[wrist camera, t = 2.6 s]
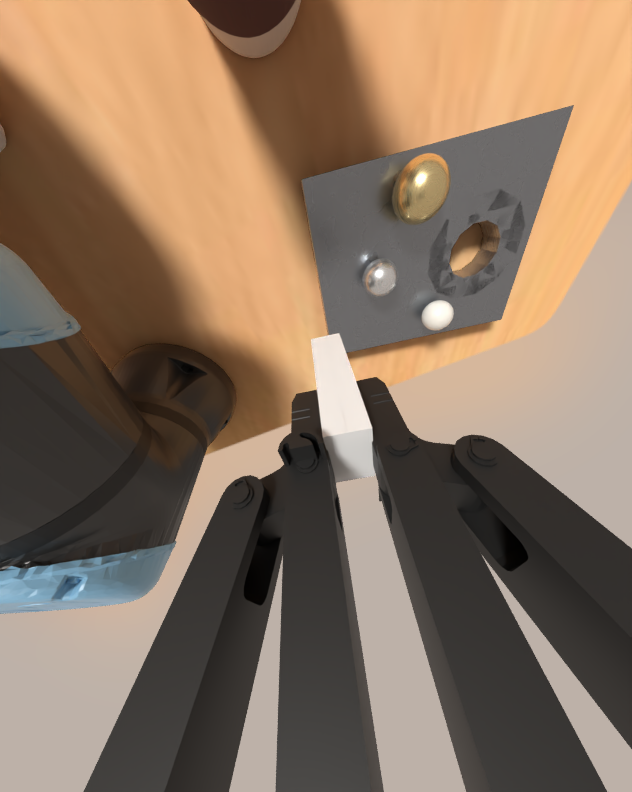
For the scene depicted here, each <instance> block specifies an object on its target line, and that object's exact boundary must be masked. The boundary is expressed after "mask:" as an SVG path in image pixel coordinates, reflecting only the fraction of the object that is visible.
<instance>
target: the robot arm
mask: <svg viewBox="0 0 632 792" xmlns="http://www.w3.org/2000/svg"><path fill="white" fill-rule="evenodd" d="M80 329H81V326H80V325H79V324H78V322H77V320H76V319H74V317H73V316H72V315H70V314H69V313H67V312H65V311H64V309H63V308H62V307H61V306H60V305H59V303H58V302H57V301H56V300H55V298H54V297H53V296H52V295H51V293H50V292H49V291H48V290H47V288H46V287H45V286H44V285H43V283H42V282H41V281H40V280H39V279H38V277H37V276H36V275H35V274H34V272H33V271H32V270H31V269H30V267H29V266H28V265H27V264H26V263H25V262H24V261H23V260H22V259H21V258H20V257H19V256H18V255H17V254H16V253H14V252H13V251H12V250H10V249H9V248H7V247H6V246H4V245H3V244H1V243H0V614H4V613H22V612H38V611H52V610H65V609H76V608H88V607H97V606H106V605H114V604H121V603H126V602H131V601H134V600H137V599H139V598H141V597H143V596H144V595H146V594H147V593H148V592H149V591H150V590H151V589H152V588H153V587H154V586H155V585H156V583H157V582H158V580H159V578H160V576H161V574H162V572H163V570H164V567H165V565H166V563H167V561H168V559H169V556H170V554H171V552H172V550H173V548H174V547H175V544H176V541H175V539H176V536H177V533H178V530H179V527H180V525H181V521H182V519H183V516H184V513H185V510H186V507H187V505H188V502H189V499H190V496H191V493H192V490H193V487H194V484H195V482H196V478H197V476H198V473H199V470H200V467H201V464H202V462H203V458H204V456H205V453H206V450H207V447H208V446H209V445H210V444H211V443H212V441H213V440H214V439H215V438H216V437H217V435H218V434H219V432H220V431H221V430H222V429H223V428H224V427H225V426H226V425H227V424H228V422H229V421H230V419H231V417H232V414H233V411H234V408H235V404H236V392H235V389H234V386H233V384H232V382H231V380H230V378H229V377H228V376H227V374H226V373H225V372H224V371H223V370H222V369H221V368H220V367H219V366H218V365H217V364H216V363H214V362H213V361H212V360H210V359H209V358H207V357H205V356H204V355H202V354H200V353H198V352H195V351H193V350H190V349H187V348H184V347H180V346H176V345H170V344H150V345H145V346H141V347H139V348H136V349H134V350H132V351H131V352H129V353H128V354H127V355H126V356H125V357H123V358H122V359H121V360H120V361H119V362H118V363H117V364H116V365H115V366H114V368H113V369H112V371H111V372H110V371H109V369H108V368H107V367H106V365H105V364H104V362H103V361H102V360H101V358H100V357H99V356H98V354H97V353H96V352H95V350H94V349H93V347H92V346H91V345H90V343H89V342H88V341H87V339H86V338H85V336H84V335H83V334H82V332H81V331H80ZM311 344H312V352H313V360H314V369H315V377H316V385H317V390H314V391H309V392H304V393H299V394H296V396H295V398H294V400H293V402H292V428H291V429H292V430H291V433H290V434H289V435H287V436H286V437H285V438H284V439H283V441H282V442H281V443H280V446H279V449H278V452H279V454H280V456H281V458H282V460H283V462H284V465H283V466H282V467H281V468H280V469H279V470H277V471H275V472H274V473H272V474H270V475H268V476H266V477H264V478H262V479H260V480H259V479H258V478H257V477H254V476H251V475H250V476H243V477H241V478H239V479H237V480H235V481H234V482H232V483H231V484H230V485H229V486H228V487H227V488H226V490H225V492H224V493H223V495H222V497H221V499H220V501H219V503H218V505H217V507H216V510H215V512H214V514H213V516H212V518H211V520H210V522H209V525H208V527H207V529H206V531H205V533H204V535H203V537H202V539H201V542H200V544H199V546H198V548H197V551H196V552H195V554H194V557H193V559H192V561H191V563H190V565H189V567H188V569H187V572H186V574H185V576H184V578H183V580H182V582H181V585H180V587H179V589H178V591H177V593H176V595H175V597H174V599H173V602H172V604H171V606H170V608H169V610H168V613H167V615H166V617H165V619H164V621H163V623H162V625H161V627H160V629H159V631H158V634H157V636H156V638H155V640H154V642H153V644H152V646H151V649H150V651H149V653H148V655H147V657H146V659H145V661H144V664H143V666H142V668H141V670H140V672H139V674H138V677H137V679H136V681H135V683H134V685H133V687H132V689H131V692H130V694H129V696H128V698H127V700H126V702H125V705H124V706H123V709H122V711H121V713H120V715H119V717H118V719H117V721H116V724H115V726H114V728H113V730H112V732H111V734H110V736H109V738H108V741H107V743H106V745H105V747H104V749H103V751H102V753H101V756H100V758H99V760H98V762H97V764H96V766H95V769H94V771H93V773H92V775H91V777H90V779H89V781H88V783H87V786H86V788H85V790H84V792H229V788H230V784H231V780H232V775H233V771H234V767H235V762H236V758H237V753H238V749H239V745H240V740H241V736H242V731H243V727H244V723H245V718H246V714H247V709H248V705H249V700H250V696H251V692H252V687H253V683H254V678H255V674H256V670H257V665H258V661H259V656H260V652H261V648H262V643H263V639H264V634H265V630H266V626H267V621H268V617H269V613H270V608H271V604H272V599H273V595H274V591H275V586H276V582H277V578H278V573H279V569H280V564H281V560H282V556H283V577H282V607H281V641H280V672H279V702H278V703H279V704H278V735H277V766H276V792H384V791H383V784H382V777H381V771H380V764H379V758H378V751H377V744H376V738H375V732H374V725H373V719H372V712H371V706H370V699H369V693H368V686H367V680H366V673H365V666H364V659H363V653H362V646H361V640H360V633H359V627H358V621H357V614H356V607H355V601H354V594H353V588H352V581H351V575H350V568H349V561H348V555H347V549H346V542H345V536H344V529H343V522H342V516H341V509H340V503H339V498H338V494H337V489H336V482H342V481H348V480H353V479H359V478H365V477H371V476H375V473H376V476H377V480H378V484H379V501H382V503H383V507H384V510H385V514H386V517H387V521H388V524H389V527H390V531H391V534H392V538H393V541H394V545H395V548H396V552H397V555H398V558H399V562H400V565H401V569H402V572H403V576H404V579H405V582H406V586H407V589H408V593H409V596H410V599H411V603H412V607H413V610H414V613H415V617H416V620H417V623H418V627H419V631H420V634H421V637H422V641H423V644H424V648H425V651H426V655H427V658H428V661H429V665H430V668H431V672H432V675H433V679H434V682H435V686H436V689H437V692H438V696H439V699H440V703H441V706H442V709H443V713H444V716H445V720H446V723H447V727H448V730H449V734H450V737H451V741H452V743H453V747H454V751H455V754H456V758H457V761H458V765H459V768H460V771H461V774H462V778H463V782H464V785H465V789H466V792H607V790H606V789H605V787H604V785H603V783H602V781H601V779H600V777H599V775H598V774H597V772H596V770H595V768H594V766H593V764H592V762H591V760H590V759H589V757H588V755H587V753H586V751H585V749H584V747H583V745H582V744H581V741H580V740H579V738H578V736H577V734H576V732H575V730H574V728H573V726H572V725H571V723H570V721H569V719H568V717H567V715H566V713H565V711H564V709H563V708H562V706H561V704H560V702H559V700H558V698H557V696H556V694H555V693H554V691H553V689H552V687H551V685H550V683H549V681H548V680H547V677H546V676H545V674H544V672H543V670H542V668H541V666H540V664H539V662H538V661H537V659H536V657H535V655H534V653H533V651H532V649H531V647H530V646H529V644H528V642H527V640H526V638H525V636H524V634H523V632H522V631H521V629H520V627H519V625H518V623H517V621H516V619H515V617H514V615H513V614H512V612H511V610H510V608H509V606H508V604H507V602H506V600H505V599H504V597H503V595H502V593H501V591H500V589H499V587H498V585H497V584H496V581H495V580H494V578H493V576H492V574H491V572H490V570H489V568H488V566H487V564H486V563H485V561H484V559H483V557H482V555H483V556H484V558H485V559H486V561H487V562H488V563H489V565H490V566H491V567H492V568H493V570H494V571H495V572H496V573H497V575H498V576H499V578H500V579H501V580H502V581H503V583H504V584H505V585H506V587H507V588H508V589H509V590H510V592H511V593H512V594H513V596H514V597H515V598H516V600H517V601H518V602H519V603H520V605H521V606H522V607H523V609H524V610H525V611H526V612H527V614H528V615H529V616H530V618H531V619H532V620H533V622H534V623H535V624H536V625H537V627H538V628H539V629H540V631H541V632H542V633H543V635H544V636H545V637H546V638H547V640H548V641H549V642H550V644H551V645H552V646H553V648H554V649H555V650H556V651H557V653H558V654H559V655H560V656H561V658H562V659H563V661H564V662H565V663H566V664H567V665H568V667H569V668H570V669H571V671H572V672H573V674H574V675H575V676H576V677H577V679H578V680H579V681H580V682H581V684H582V685H583V686H584V688H585V689H586V690H587V692H588V693H589V694H590V696H591V697H592V698H593V699H594V701H595V702H596V703H597V705H598V706H599V707H600V709H601V710H602V711H603V712H604V714H605V715H606V716H607V717H608V719H609V720H610V722H611V723H612V724H613V725H614V727H615V728H616V729H617V731H618V732H619V733H620V734H621V736H622V737H623V738H624V740H625V741H626V742H627V744H628V745H629V746H630V747H631V749H632V549H631V548H630V547H629V546H627V545H626V544H625V543H624V542H623V541H622V540H620V539H619V538H618V537H616V536H615V535H614V534H613V533H611V532H610V531H609V530H608V529H607V528H605V527H604V526H603V525H601V524H600V523H599V522H598V521H596V520H595V519H594V518H593V517H592V516H590V515H589V514H588V513H587V512H585V511H584V510H583V509H582V508H580V507H579V506H578V505H577V504H575V503H574V502H573V501H572V500H570V499H569V498H568V497H567V496H565V495H564V494H563V493H562V492H560V491H559V490H558V489H557V488H556V487H554V486H553V485H552V484H551V483H549V482H548V481H547V480H546V479H544V478H543V477H542V476H541V475H539V474H538V473H537V472H535V471H534V470H533V469H532V468H531V467H529V466H528V465H527V464H525V463H524V462H523V461H522V460H520V459H519V458H518V457H517V456H516V455H514V454H513V453H512V452H511V451H509V450H508V449H507V448H505V447H504V446H503V445H502V444H500V443H498V442H497V441H495V440H493V439H491V438H488V437H484V436H479V435H469V436H464V437H462V438H460V439H459V440H457V441H456V444H455V445H452V444H441V443H432V442H427V441H424V440H422V439H420V438H418V437H417V436H415V435H414V434H412V433H411V432H410V431H409V429H408V428H407V426H406V424H405V422H404V420H403V418H402V416H401V415H400V413H399V410H398V408H397V407H396V405H395V403H394V401H393V399H392V397H391V395H390V394H389V391H388V389H387V387H386V385H385V383H384V382H382V381H381V380H380V379H378V378H377V377H374V378H369V379H364V380H359V381H356V380H355V377H354V374H353V371H352V368H351V365H350V362H349V360H348V357H347V354H346V351H345V348H344V345H343V342H342V339H341V337H340V334H339V333H337V334H333V335H328V336H323V337H319V338H314V339H311ZM481 554H482V555H481Z"/></svg>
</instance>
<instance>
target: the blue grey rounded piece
mask: <svg viewBox="0 0 632 792" xmlns="http://www.w3.org/2000/svg"><path fill="white" fill-rule="evenodd" d="M6 143H7V142H6V137H5V132H4V129H3V127H2V125H1V124H0V152H1V151H2V150H3V149H4V148H5V147H6Z"/></svg>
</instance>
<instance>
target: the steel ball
mask: <svg viewBox="0 0 632 792" xmlns="http://www.w3.org/2000/svg"><path fill="white" fill-rule="evenodd" d="M397 281H398V270H397V267H396V265H395V264H394V263H393V262H392V261H391V260H389V259H385V258H381V259H376V260H374V261H373V262H371V263H370V264H369V265H368V266H367V268H366V269H365V271H364V274H363V286H364V289H365V290H366V292H367V293H368V294H370V295H371V296H374V297H383V296H385V295H387V294H389V293H390V292H391V291H392V290H393V289H394V288H395V286H396V284H397Z"/></svg>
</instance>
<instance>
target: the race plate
mask: <svg viewBox="0 0 632 792" xmlns="http://www.w3.org/2000/svg"><path fill="white" fill-rule="evenodd" d="M573 106H574V105H573ZM573 106H569V107H565V108H562V109H558V110H554V111H551V112H547V113H543V114H540V115H536V116H532V117H529V118H525V119H521V120H518V121H514V122H510V123H507V124H503V125H499V126H496V127H492V128H488V129H485V130H481V131H477V132H474V133H470V134H466V135H463V136H459V137H455V138H452V139H448V140H444V141H441V142H437V143H433V144H430V145H426V146H422V147H419V148H415V149H411V150H408V151H404V152H400V153H396V154H393V155H389V156H385V157H382V158H378V159H374V160H371V161H367V162H363V163H360V164H356V165H352V166H349V167H345V168H341V169H338V170H334V171H330V172H327V173H323V174H319V175H316V176H312V177H308V178H305V179H302V180H301V186H302V191H303V197H304V203H305V208H306V214H307V219H308V225H309V231H310V236H311V242H312V248H313V253H314V259H315V264H316V270H317V276H318V281H319V287H320V292H321V298H322V304H323V309H324V315H325V321H326V326H327V332H328V335H333V334H337V333H339V334H340V337H341V339H342V342H343V345H344V348H345V351H346V353H348V352H352V351H357V350H362V349H366V348H371V347H376V346H380V345H385V344H390V343H394V342H399V341H404V340H408V339H413V338H417V337H422V336H427V335H431V334H436V333H441V332H445V331H450V330H455V329H459V328H464V327H469V326H473V325H478V324H482V323H487V322H492V321H496V320H501V319H502V316H503V313H504V310H505V307H506V304H507V301H508V298H509V295H510V292H511V289H512V286H513V283H514V280H515V277H516V274H517V271H518V268H519V265H520V262H521V259H522V257H523V254H524V251H525V248H526V245H527V242H528V239H529V236H530V233H531V230H532V227H533V224H534V221H535V218H536V215H537V212H538V209H539V206H540V203H541V200H542V198H543V195H544V192H545V189H546V186H547V183H548V180H549V177H550V174H551V171H552V168H553V165H554V162H555V159H556V156H557V153H558V150H559V147H560V144H561V141H562V138H563V136H564V133H565V130H566V127H567V124H568V121H569V118H570V115H571V112H572V109H573ZM427 153H433V154H437V155H439V156H441V157H442V158H443V159H444V160H445V161H446V162H447V164H448V166H449V169H450V174H451V185H450V190H449V194H448V196H447V199H446V201H445V203H444V204H443V206H442V208H441V209H440V210H439V211H438V213H437V214H436V215H435V216H434V217H432V218H431V219H430V220H428V221H426V222H424V223H422V224H419V225H408V224H405V223H403V222H402V221H401V220H399V218H398V217H397V216H396V214H395V212H394V209H393V204H392V194H393V189H394V185H395V182H396V180H397V177H398V176H399V174H400V172H401V171H402V169H403V168H404V167H405V166H406V165H407V164H408V163H409V162H410V161H411V160H412V159H414V158H415V157H417V156H419V155H422V154H427ZM474 223H479V224H480V225H481V228H482V232H483V239H482V244H481V248H480V250H479V251H478V253H477V254H476V256H475V258H474V259H473V261H472V262H470V263H469V264H468V265H466V266H465V267H464V268H462V269H461V270H457V271H453V272H452V269H451V267H450V264H449V262H450V255H451V249H452V248H453V246H454V244H455V243H456V241H457V239H458V238H459V236H460V234H462V233H463V232H464V231H465V230H466V229H468V228H469V227H470V226H471V225H473V224H474ZM381 258H385V259H389V260H391V261H392V262H393V263H394V264H395V265H396V267H397V270H398V281H397V284H396V286H395V288H394V289H393V290H392V291H391V292H390V293H389V294H387V295H385V296H383V297H374V296H371V295H370V294H368V293H367V292H366V290H365V289H364V286H363V274H364V271H365V269H366V268H367V266H368V265H369V264H370V263H371V262H373V261H374V260H376V259H381ZM437 300H443V301H446V302H448V303H449V304H451V306H452V307H453V311H454V315H453V319H452V321H451V322H450V324H449V325H448V326H446V327H445V328H443V329H441V330H430V329H428V328H426V327H425V326H424V325H423V323H422V312H423V310H424V309H425V307H426V306H427V305H428V304H430V303H431V302H434V301H437Z"/></svg>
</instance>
